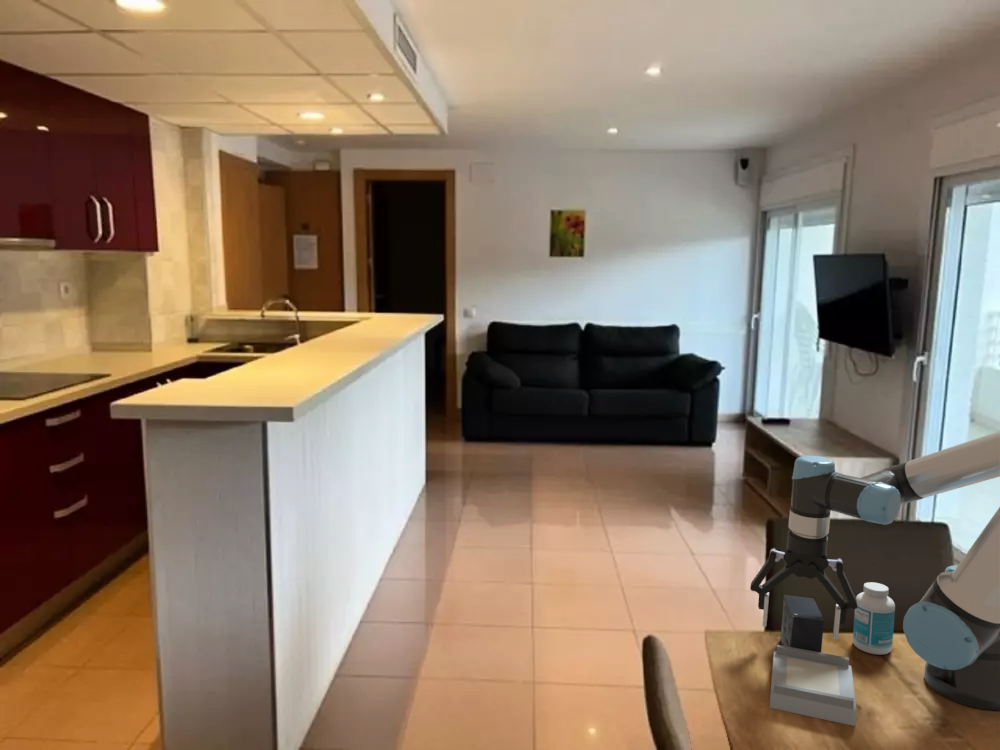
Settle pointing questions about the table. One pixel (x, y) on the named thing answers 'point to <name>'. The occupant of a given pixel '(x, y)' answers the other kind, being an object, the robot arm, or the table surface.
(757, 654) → the table surface
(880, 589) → the pill bottle
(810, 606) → the small box
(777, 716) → the table surface
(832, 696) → the dock
